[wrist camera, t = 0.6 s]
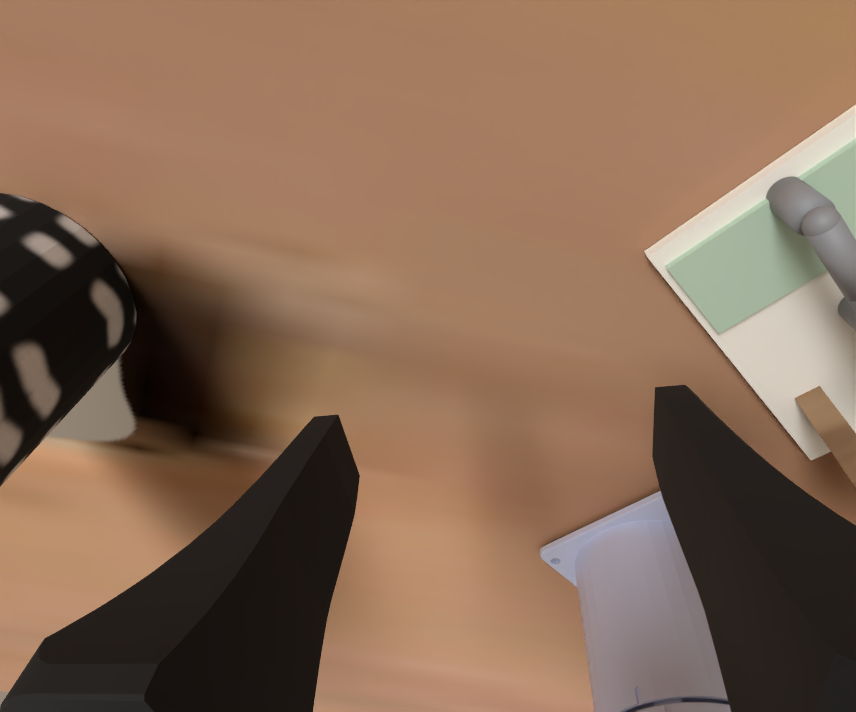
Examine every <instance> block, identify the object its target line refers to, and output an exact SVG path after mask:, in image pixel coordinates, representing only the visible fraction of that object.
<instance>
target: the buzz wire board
mask: <svg viewBox="0 0 856 712" xmlns="http://www.w3.org/2000/svg"><path fill="white" fill-rule="evenodd" d="M855 138H856V105H854V106H853V107H851V108H850V109H849V110H847V111H846V112H844V113H843V114H841V115H840V116H838V117H837V118H836V119H834V120H833V121H831V122H830V123H828V124H827V125H826V126H824V127H823V128H821V129H820V130H818V131H817V132H815V133H814V134H813V135H811V136H810V137H808V138H807V139H805V140H804V141H802V142H801V143H800V144H798V145H797V146H795V147H794V148H792V149H791V150H789V151H788V152H787V153H785V154H784V155H782V156H781V157H779V158H778V159H776V160H775V161H774V162H772V163H771V164H769V165H768V166H766V167H765V168H763V169H762V170H761V171H759V172H758V173H756V174H755V175H753V176H752V177H750V178H749V179H748V180H746V181H745V182H743V183H742V184H740V185H739V186H737V187H736V188H735V189H733V190H732V191H730V192H729V193H727V194H726V195H724V196H723V197H722V198H720V199H719V200H717V201H716V202H714V203H713V204H712V205H710V206H709V207H707V208H706V209H704V210H703V211H701V212H700V213H699V214H697V215H696V216H694V217H693V218H691V219H690V220H688V221H687V222H686V223H684V224H683V225H681V226H680V227H678V228H677V229H675V230H674V231H673V232H671V233H670V234H668V235H667V236H665V237H664V238H662V239H661V240H660V241H658V242H657V243H655V244H654V245H652V246H651V247H649V248H648V249H647V250H645V251H644V252H645V254H646V256H647V258H648V259H649V260H650V261H651V263H652V264H653V265H654V266H655V268H656V269H657V270H658V271H659V272H660V274H661V275H662V276H663V277H664V279H665V280H666V281H667V282H668V284H669V285H670V286H671V287H672V289H673V290H674V291H675V292H676V294H677V295H678V296H679V297H680V299H681V300H682V301H683V302H684V304H685V305H686V306H687V307H688V309H689V310H690V311H691V312H692V313H693V315H694V316H695V317H696V318H697V320H698V321H699V322H700V323H701V325H702V326H703V327H704V328H705V330H706V331H707V332H708V333H709V335H710V336H711V337H712V338H713V340H714V341H715V342H716V343H717V345H718V346H719V347H720V348H721V350H722V351H723V352H724V353H725V354H726V356H727V357H728V358H729V359H730V361H731V362H732V363H733V364H734V366H735V367H736V368H737V369H738V371H739V372H740V373H741V374H742V376H743V377H744V378H745V379H746V381H747V382H748V383H749V384H750V386H751V387H752V388H753V389H754V391H755V392H756V393H757V394H758V396H759V397H760V398H761V399H762V400H763V402H764V403H765V404H766V405H767V407H768V408H769V409H770V410H771V412H772V413H773V414H774V415H775V417H776V418H777V419H778V420H779V422H780V423H781V424H782V425H783V427H784V428H785V429H786V430H787V432H788V433H789V434H790V435H791V437H792V438H793V439H794V440H795V441H796V443H797V444H798V445H799V446H800V448H801V449H802V450H803V451H804V453H805V454H806V455H807V456H808V458H809V459H810V460H814V459H816V458H818V457H820V456H823V455H825V454H827V453H829V452H831V451H830V449H829V448H828V447H827V445H826V444H825V442H824V441H823V439H822V438H821V436H820V435H819V433H818V432H817V430H816V429H815V427H814V426H813V425H812V423H811V422H810V420H809V419H808V417H807V416H806V414H805V413H804V411H803V410H802V408H801V407H800V406H799V404H798V403H797V401H796V400H795V398H796V397H798V396H800V395H802V394H804V393H806V392H808V391H810V390H812V389H814V388H816V387H818V386H820V387H821V388H822V390H823V391H824V392H825V394H826V395H827V396H828V397H829V399H830V400H831V401H832V403H833V404H834V405H835V407H836V408H837V409H838V411H839V412H840V413H841V415H842V416H843V417H844V418H845V420H846V421H847V422H848V424H849V425H850V426H851V428H852V429H853V430H854V432H855V433H856V239H855V238H854V236H853V234H852V233H851V231H850V229H849V228H848V226H847V224H846V223H845V221H844V219H843V218H842V216H841V214H840V213H839V212H838V211H837V210H836V208H835V205H834V203H833V202H832V201H831V200H829V199H828V198H826V197H825V196H824V195H822V194H821V193H819V192H818V191H817V190H815V189H814V188H813V187H811V186H810V185H808V184H807V183H806V182H804V181H802V180H800V179H799V178H798V176H800V175H801V174H803V173H804V172H806V171H807V170H809V169H810V168H812V167H813V166H815V165H816V164H818V163H819V162H821V161H822V160H824V159H825V158H827V157H828V156H830V155H831V154H833V153H834V152H836V151H837V150H839V149H840V148H842V147H843V146H845V145H846V144H848V143H849V142H851V141H852V140H854V139H855ZM764 199H767V200H768V201H769V205H770V208H771V210H772V211H773V212H774V213H775V214H776V215H777V216H778V217H779V218H780V219H782V220H783V221H784V222H785V223H786V224H787V225H788V226H789V227H790V228H791V229H792V230H794V231H795V232H796V233H797V234H799V235H802V236H805V237H806V238H807V240H808V242H809V243H810V245H811V246H812V248H813V249H814V251H815V252H816V254H817V255H818V257H819V259H820V260H821V262H822V263H823V265H824V266H825V268H826V269H827V271H826V272H825V273H823V274H821V275H819V276H818V277H816V278H814V279H813V280H811V281H809V282H807V283H806V284H804V285H802V286H800V287H799V288H797V289H795V290H794V291H792V292H790V293H788V294H787V295H785V296H783V297H782V298H780V299H778V300H776V301H775V302H773V303H771V304H770V305H768V306H766V307H764V308H763V309H761V310H759V311H757V312H756V313H754V314H752V315H751V316H749V317H747V318H745V319H744V320H742V321H740V322H739V323H737V324H735V325H733V326H732V327H730V328H728V329H727V330H725V331H723V332H721V333H720V334H719V333H718V332H717V331H716V330H715V328H714V327H713V326H712V325H711V323H710V322H709V321H708V320H707V318H706V317H705V316H704V315H703V313H702V312H701V311H700V310H699V308H698V307H697V306H696V304H695V303H694V302H693V301H692V299H691V298H690V297H689V296H688V294H687V293H686V292H685V291H684V289H683V288H682V287H681V286H680V284H679V283H678V282H677V281H676V279H675V278H674V277H673V276H672V274H671V273H670V272H669V271H668V269H667V268H666V266H665V265H667V264H668V263H670V262H671V261H673V260H674V259H676V258H677V257H679V256H680V255H682V254H683V253H685V252H686V251H688V250H689V249H691V248H692V247H694V246H695V245H697V244H698V243H700V242H701V241H703V240H704V239H706V238H707V237H709V236H710V235H712V234H713V233H715V232H716V231H718V230H719V229H721V228H722V227H724V226H725V225H727V224H728V223H730V222H731V221H733V220H734V219H736V218H737V217H739V216H740V215H742V214H743V213H745V212H746V211H748V210H749V209H751V208H752V207H754V206H755V205H757V204H758V203H760V202H761V201H763V200H764Z"/></svg>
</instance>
